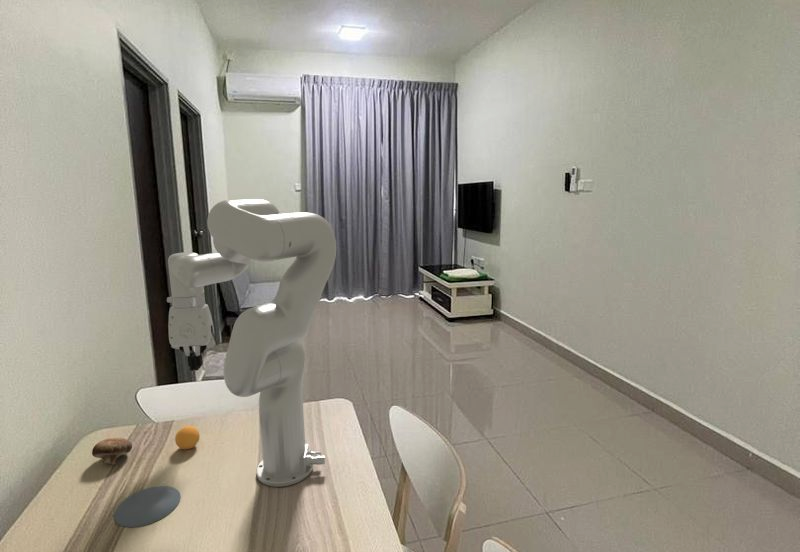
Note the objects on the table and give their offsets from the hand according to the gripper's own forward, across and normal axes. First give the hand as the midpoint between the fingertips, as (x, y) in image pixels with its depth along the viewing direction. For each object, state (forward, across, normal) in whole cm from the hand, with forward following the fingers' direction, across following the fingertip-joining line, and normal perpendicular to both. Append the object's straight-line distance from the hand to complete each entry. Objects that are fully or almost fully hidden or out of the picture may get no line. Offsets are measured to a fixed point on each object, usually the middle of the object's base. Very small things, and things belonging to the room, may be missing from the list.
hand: (196, 368), depth 120 cm
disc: (+17, 0, -30) cm, 35 cm away
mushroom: (+17, -16, -14) cm, 27 cm away
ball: (+14, 0, -10) cm, 17 cm away
